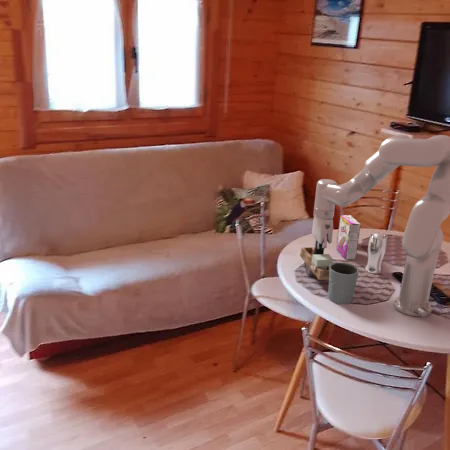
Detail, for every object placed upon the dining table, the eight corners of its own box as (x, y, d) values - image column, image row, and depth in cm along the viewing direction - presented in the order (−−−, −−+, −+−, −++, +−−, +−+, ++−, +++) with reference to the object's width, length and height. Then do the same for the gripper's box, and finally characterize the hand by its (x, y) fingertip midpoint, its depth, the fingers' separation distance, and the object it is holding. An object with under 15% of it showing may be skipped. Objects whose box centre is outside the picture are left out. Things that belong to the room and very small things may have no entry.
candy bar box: (335, 249, 220) (340, 214, 214) (346, 249, 221) (351, 214, 215) (345, 260, 209) (350, 223, 204) (356, 260, 210) (361, 223, 204)
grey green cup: (339, 308, 171) (344, 276, 167) (319, 295, 179) (323, 265, 175) (360, 301, 176) (365, 270, 172) (340, 289, 184) (344, 259, 180)
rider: (331, 271, 187) (333, 259, 186) (315, 272, 186) (317, 260, 184) (327, 265, 192) (328, 254, 190) (311, 266, 191) (312, 254, 189)
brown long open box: (334, 286, 186) (336, 270, 184) (316, 287, 185) (318, 271, 183) (314, 261, 206) (315, 247, 204) (298, 262, 205) (299, 247, 203)
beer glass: (382, 275, 197) (388, 240, 192) (364, 272, 199) (370, 238, 193) (381, 267, 204) (386, 234, 199) (363, 265, 205) (369, 232, 200)
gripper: (341, 219, 180) (334, 265, 186) (326, 205, 193) (320, 249, 200) (321, 219, 178) (315, 265, 185) (307, 206, 192) (302, 249, 198)
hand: (318, 257), depth 192 cm, fingers closed
